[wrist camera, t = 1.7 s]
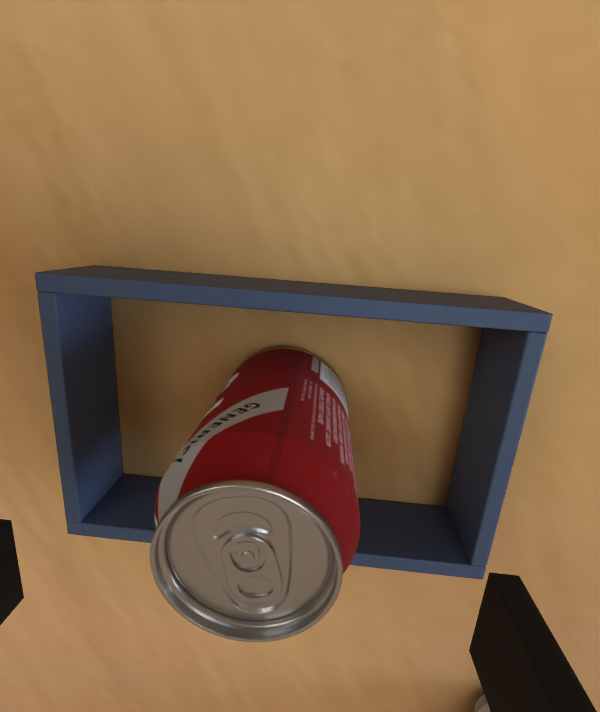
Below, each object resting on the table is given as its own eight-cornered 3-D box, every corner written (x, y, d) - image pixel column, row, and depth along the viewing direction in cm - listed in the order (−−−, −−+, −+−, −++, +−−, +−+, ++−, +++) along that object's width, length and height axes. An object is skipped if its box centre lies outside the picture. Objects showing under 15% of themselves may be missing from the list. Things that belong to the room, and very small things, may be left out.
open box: (93, 265, 21) (33, 272, 17) (505, 297, 20) (553, 313, 16) (112, 483, 25) (67, 534, 21) (455, 518, 24) (483, 580, 20)
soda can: (336, 335, 21) (347, 449, 10) (353, 445, 23) (379, 651, 12) (216, 353, 22) (96, 480, 11) (242, 459, 24) (163, 664, 12)
